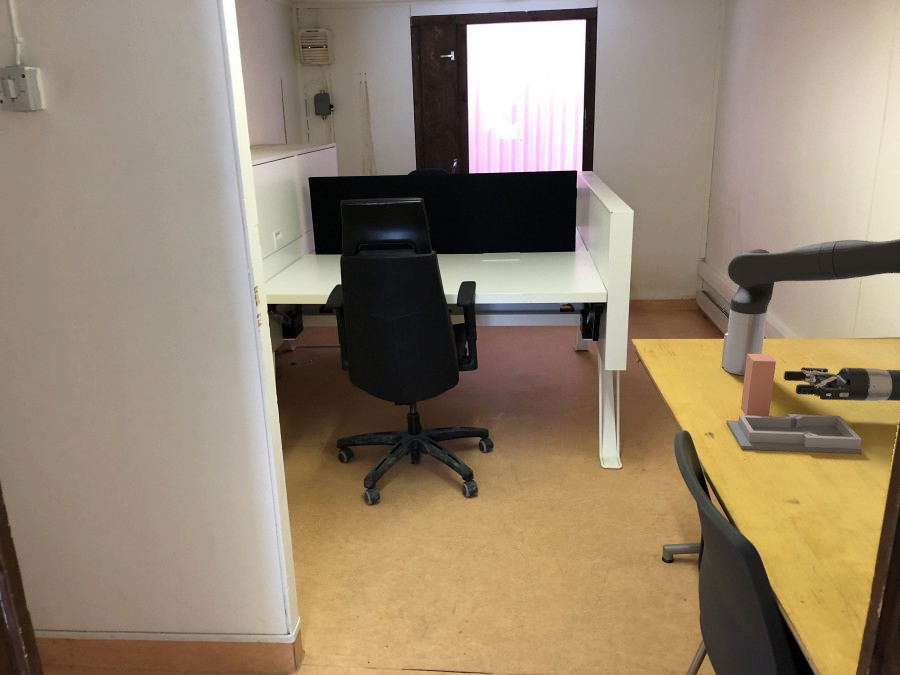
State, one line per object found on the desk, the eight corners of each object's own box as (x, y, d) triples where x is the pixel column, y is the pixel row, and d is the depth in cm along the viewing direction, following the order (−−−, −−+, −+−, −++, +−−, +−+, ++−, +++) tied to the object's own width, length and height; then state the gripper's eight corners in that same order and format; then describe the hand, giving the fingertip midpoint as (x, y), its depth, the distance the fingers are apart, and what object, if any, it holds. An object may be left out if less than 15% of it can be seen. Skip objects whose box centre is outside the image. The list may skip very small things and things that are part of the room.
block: (746, 417, 170) (753, 360, 166) (740, 408, 175) (747, 353, 171) (768, 417, 170) (775, 361, 165) (762, 409, 174) (769, 354, 170)
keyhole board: (836, 427, 164) (838, 414, 163) (860, 453, 152) (862, 440, 151) (726, 423, 167) (727, 411, 166) (741, 449, 155) (742, 436, 154)
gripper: (853, 358, 173) (782, 356, 175) (880, 380, 159) (803, 378, 161) (848, 388, 175) (778, 386, 177) (874, 411, 162) (798, 409, 163)
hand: (790, 382), depth 169 cm, fingers open, 8 cm apart
